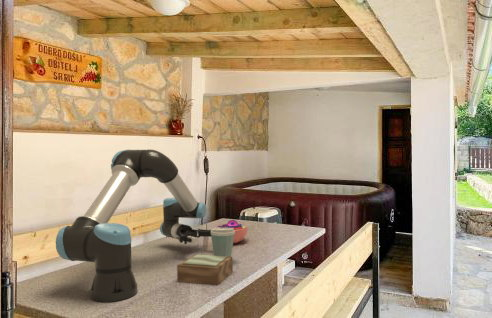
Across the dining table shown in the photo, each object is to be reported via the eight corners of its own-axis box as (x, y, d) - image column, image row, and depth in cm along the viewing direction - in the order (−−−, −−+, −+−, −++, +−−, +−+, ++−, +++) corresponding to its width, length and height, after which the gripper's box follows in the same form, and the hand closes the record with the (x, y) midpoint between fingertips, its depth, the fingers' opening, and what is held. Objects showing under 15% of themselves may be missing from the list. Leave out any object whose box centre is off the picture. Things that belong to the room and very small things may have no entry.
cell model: (210, 246, 202) (209, 224, 202) (222, 237, 221) (221, 217, 221) (242, 247, 198) (242, 224, 198) (251, 238, 217) (251, 218, 217)
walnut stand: (218, 284, 144) (217, 267, 143) (177, 281, 148) (177, 264, 148) (232, 271, 159) (232, 255, 159) (195, 269, 164) (195, 253, 163)
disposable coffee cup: (207, 261, 175) (207, 226, 174) (231, 258, 179) (230, 224, 178) (214, 267, 165) (213, 231, 164) (239, 264, 169) (238, 228, 168)
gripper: (203, 235, 203) (230, 242, 187) (159, 244, 186) (186, 252, 170) (202, 221, 202) (230, 226, 187) (159, 228, 185) (185, 234, 170)
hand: (209, 238), depth 178 cm, fingers open, 13 cm apart
